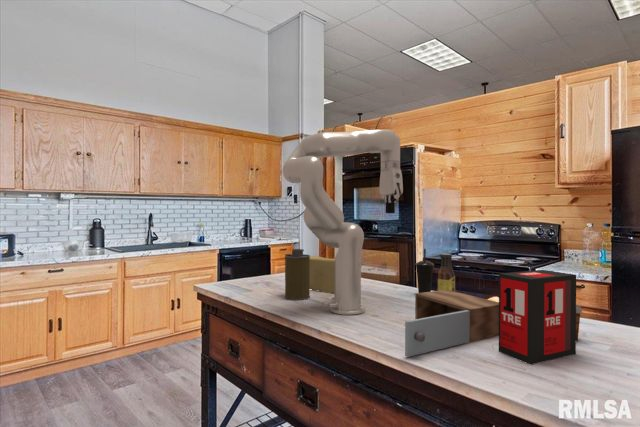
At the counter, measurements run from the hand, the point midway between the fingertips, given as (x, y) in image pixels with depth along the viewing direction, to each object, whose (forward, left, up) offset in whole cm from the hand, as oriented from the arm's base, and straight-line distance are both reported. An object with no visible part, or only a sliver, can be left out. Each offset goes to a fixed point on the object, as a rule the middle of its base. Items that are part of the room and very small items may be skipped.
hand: (390, 213), depth 148 cm
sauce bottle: (+14, -16, -35) cm, 41 cm away
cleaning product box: (0, -60, -35) cm, 70 cm away
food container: (+18, -54, -35) cm, 67 cm away
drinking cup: (+20, +2, -35) cm, 41 cm away
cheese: (-13, +28, -35) cm, 47 cm away
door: (-21, -48, -35) cm, 63 cm away
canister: (-30, +23, -35) cm, 52 cm away
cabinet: (-2, -36, -35) cm, 50 cm away
